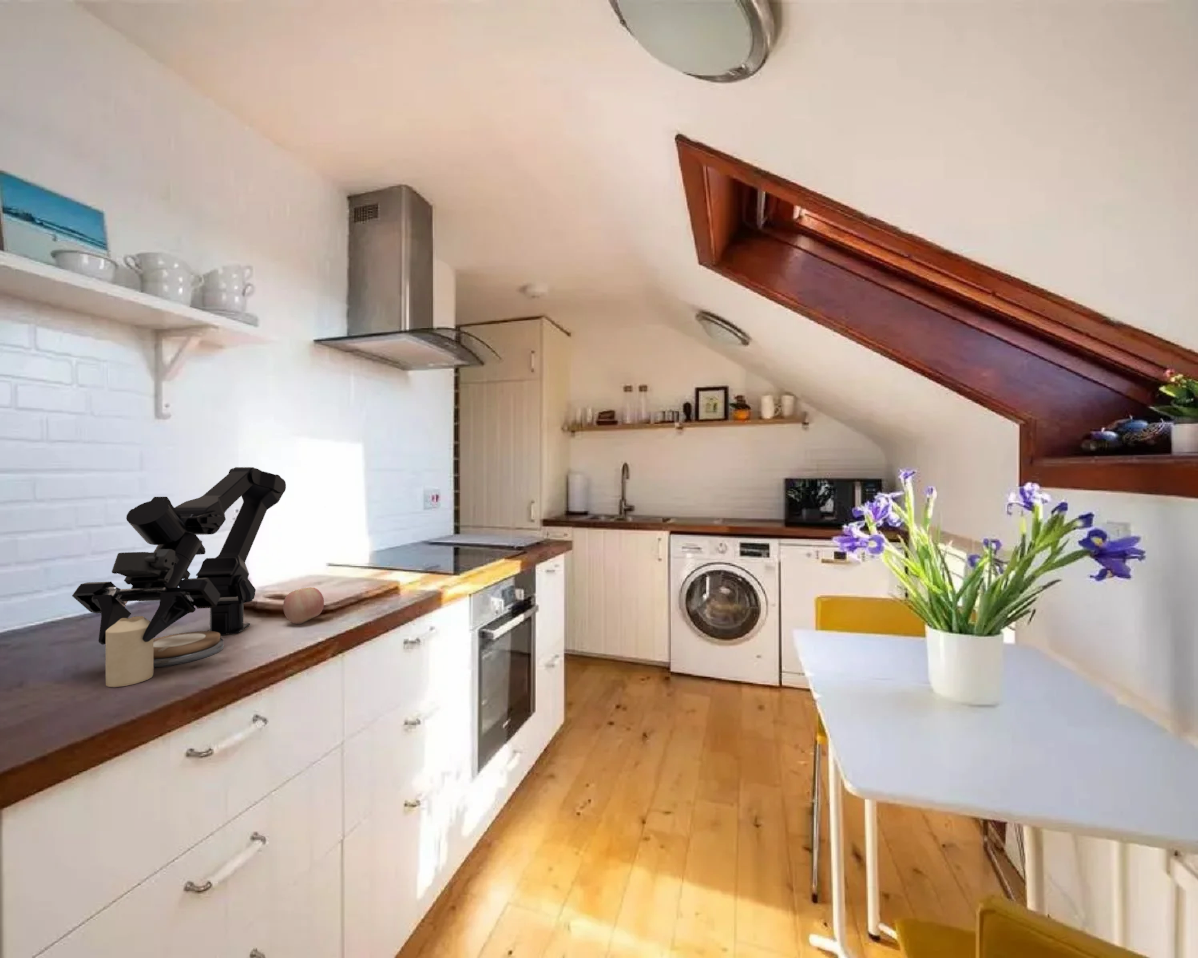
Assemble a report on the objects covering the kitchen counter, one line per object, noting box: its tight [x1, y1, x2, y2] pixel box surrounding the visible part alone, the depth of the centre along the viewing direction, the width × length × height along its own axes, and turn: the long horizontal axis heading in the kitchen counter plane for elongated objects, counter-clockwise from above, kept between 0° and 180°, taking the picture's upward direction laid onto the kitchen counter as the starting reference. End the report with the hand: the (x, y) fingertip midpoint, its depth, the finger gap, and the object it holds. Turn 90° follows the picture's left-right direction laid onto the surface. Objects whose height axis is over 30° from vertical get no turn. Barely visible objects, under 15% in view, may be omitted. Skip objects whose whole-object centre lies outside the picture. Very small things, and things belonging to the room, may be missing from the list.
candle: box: [105, 615, 154, 688], centre depth 77 cm, size 6×6×10 cm
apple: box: [282, 586, 325, 625], centre depth 109 cm, size 8×8×8 cm
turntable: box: [153, 630, 221, 659], centre depth 89 cm, size 12×12×1 cm
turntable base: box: [153, 637, 225, 669], centre depth 89 cm, size 13×13×1 cm
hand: (123, 641), depth 76 cm, fingers closed on candle, 5 cm apart
